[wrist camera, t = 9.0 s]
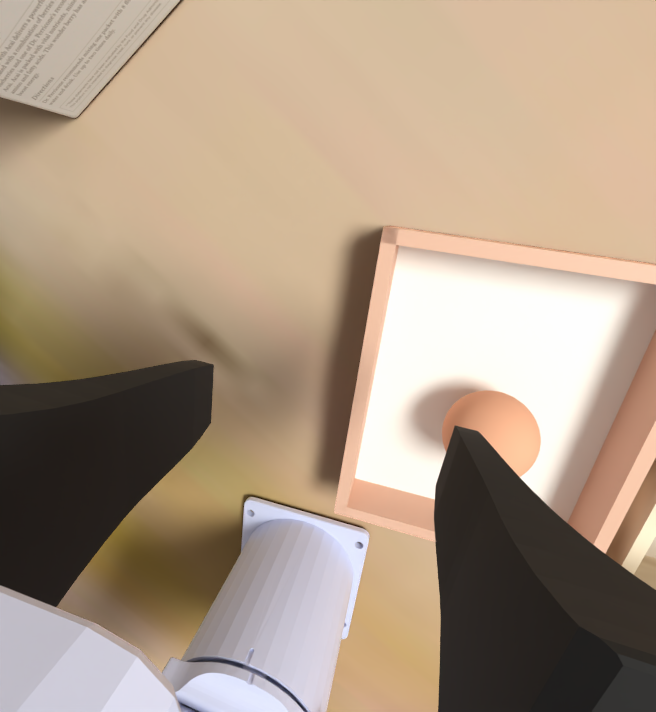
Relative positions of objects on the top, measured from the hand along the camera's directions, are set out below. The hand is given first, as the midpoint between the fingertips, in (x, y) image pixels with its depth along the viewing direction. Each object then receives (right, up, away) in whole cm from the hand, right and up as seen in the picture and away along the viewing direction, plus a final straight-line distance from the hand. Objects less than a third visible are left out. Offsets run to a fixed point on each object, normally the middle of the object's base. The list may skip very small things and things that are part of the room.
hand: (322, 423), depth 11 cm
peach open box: (+8, 0, +8) cm, 11 cm away
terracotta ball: (+7, -2, +6) cm, 10 cm away
